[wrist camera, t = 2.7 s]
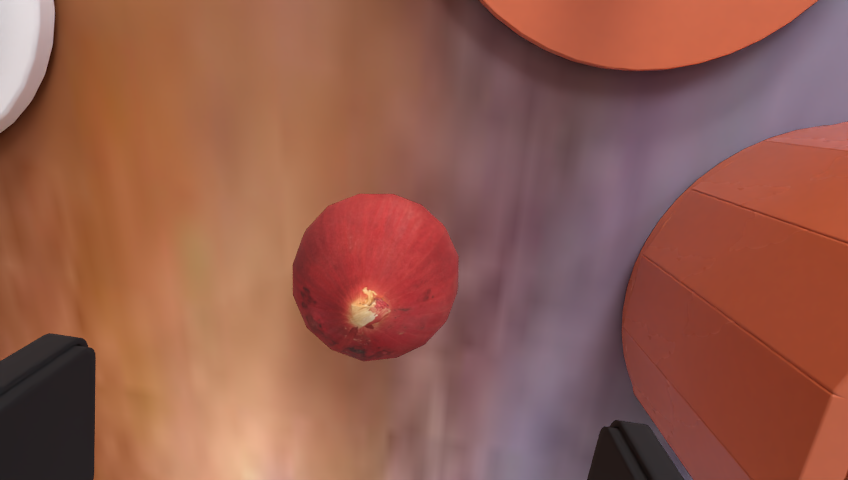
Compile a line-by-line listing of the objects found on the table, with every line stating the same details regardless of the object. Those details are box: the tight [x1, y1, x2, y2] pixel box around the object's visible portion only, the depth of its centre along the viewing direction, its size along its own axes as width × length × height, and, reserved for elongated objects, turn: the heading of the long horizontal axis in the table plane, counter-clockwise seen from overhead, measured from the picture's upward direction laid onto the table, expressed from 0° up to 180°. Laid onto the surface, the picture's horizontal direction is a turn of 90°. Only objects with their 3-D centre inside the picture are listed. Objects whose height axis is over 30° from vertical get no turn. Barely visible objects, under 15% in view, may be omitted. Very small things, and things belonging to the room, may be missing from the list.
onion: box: [293, 194, 458, 361], centre depth 19 cm, size 6×6×8 cm
